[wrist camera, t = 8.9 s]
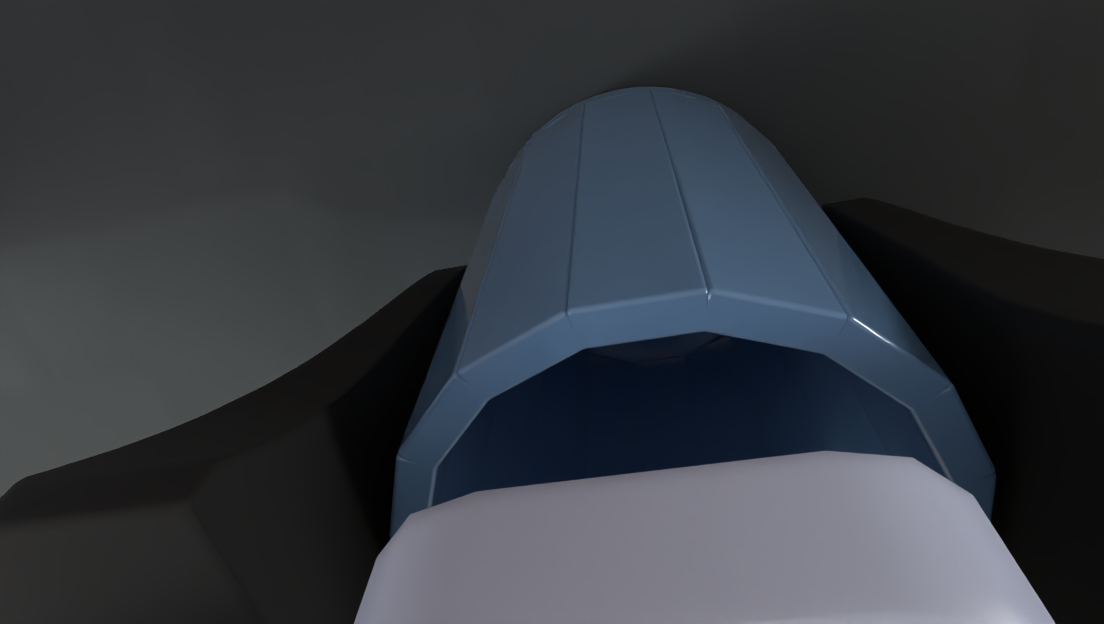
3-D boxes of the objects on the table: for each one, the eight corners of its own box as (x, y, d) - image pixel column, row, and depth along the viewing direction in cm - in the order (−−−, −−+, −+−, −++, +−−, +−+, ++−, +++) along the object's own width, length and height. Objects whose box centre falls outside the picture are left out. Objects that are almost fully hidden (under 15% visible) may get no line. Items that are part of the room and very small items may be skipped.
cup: (529, 379, 15) (475, 733, 9) (457, 120, 12) (299, 352, 6) (799, 341, 14) (969, 703, 8) (787, 54, 11) (1032, 239, 5)
